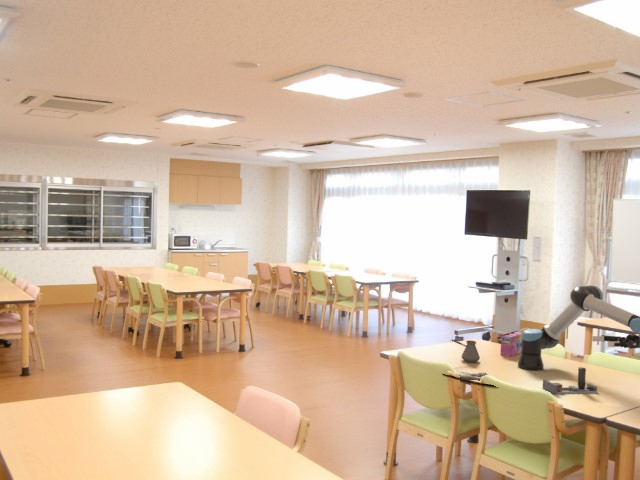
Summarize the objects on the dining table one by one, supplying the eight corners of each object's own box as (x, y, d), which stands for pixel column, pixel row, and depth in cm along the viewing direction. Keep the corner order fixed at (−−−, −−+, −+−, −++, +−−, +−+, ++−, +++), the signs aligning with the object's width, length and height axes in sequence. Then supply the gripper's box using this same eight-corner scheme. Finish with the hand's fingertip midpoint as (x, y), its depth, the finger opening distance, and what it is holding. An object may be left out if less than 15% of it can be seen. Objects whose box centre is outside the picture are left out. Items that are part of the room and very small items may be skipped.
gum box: (514, 349, 421) (515, 330, 421) (525, 351, 416) (526, 332, 416) (500, 354, 403) (500, 335, 403) (511, 356, 398) (512, 336, 398)
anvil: (553, 394, 310) (553, 385, 310) (542, 388, 321) (542, 380, 321) (556, 394, 310) (557, 385, 310) (546, 388, 321) (546, 380, 321)
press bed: (553, 396, 310) (553, 388, 310) (542, 390, 321) (542, 382, 321) (599, 396, 314) (599, 388, 314) (586, 389, 325) (587, 382, 324)
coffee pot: (472, 358, 389) (473, 336, 389) (483, 363, 379) (484, 339, 378) (444, 360, 381) (445, 337, 381) (455, 365, 371) (456, 341, 370)
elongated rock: (447, 374, 354) (438, 378, 347) (447, 365, 354) (438, 369, 347) (502, 384, 330) (493, 388, 323) (501, 374, 330) (493, 378, 323)
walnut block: (555, 392, 314) (555, 384, 314) (551, 390, 318) (551, 382, 318) (562, 392, 314) (562, 384, 314) (558, 390, 318) (558, 382, 318)
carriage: (573, 391, 315) (574, 369, 314) (568, 389, 320) (569, 367, 319) (588, 391, 316) (590, 369, 316) (583, 388, 321) (584, 366, 320)
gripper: (651, 353, 309) (614, 353, 306) (621, 343, 334) (586, 343, 331) (652, 339, 309) (615, 339, 306) (621, 330, 334) (586, 329, 331)
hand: (600, 341), depth 318 cm, fingers open, 13 cm apart
